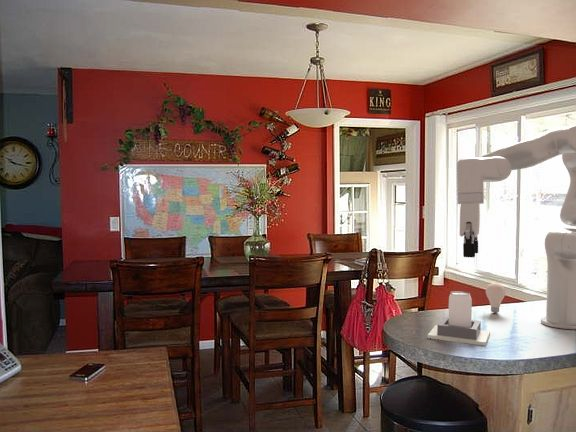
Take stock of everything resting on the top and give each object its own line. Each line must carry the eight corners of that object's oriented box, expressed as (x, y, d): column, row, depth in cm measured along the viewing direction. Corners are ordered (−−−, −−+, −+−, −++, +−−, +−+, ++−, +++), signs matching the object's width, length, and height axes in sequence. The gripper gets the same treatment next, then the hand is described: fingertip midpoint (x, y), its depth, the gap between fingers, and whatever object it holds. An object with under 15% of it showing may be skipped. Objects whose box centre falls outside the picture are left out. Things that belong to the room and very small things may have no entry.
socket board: (490, 334, 150) (490, 321, 150) (485, 345, 139) (485, 331, 139) (435, 327, 158) (436, 315, 157) (427, 338, 146) (427, 324, 146)
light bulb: (481, 311, 180) (481, 281, 180) (496, 310, 182) (496, 280, 182) (493, 316, 174) (494, 284, 173) (509, 314, 176) (509, 283, 175)
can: (445, 330, 151) (445, 291, 151) (465, 329, 152) (466, 290, 151) (453, 335, 145) (453, 295, 144) (474, 335, 145) (475, 295, 145)
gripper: (461, 198, 160) (461, 251, 161) (453, 200, 144) (454, 258, 145) (485, 198, 157) (486, 251, 157) (480, 199, 141) (481, 259, 142)
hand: (471, 255), depth 151 cm, fingers open, 9 cm apart
